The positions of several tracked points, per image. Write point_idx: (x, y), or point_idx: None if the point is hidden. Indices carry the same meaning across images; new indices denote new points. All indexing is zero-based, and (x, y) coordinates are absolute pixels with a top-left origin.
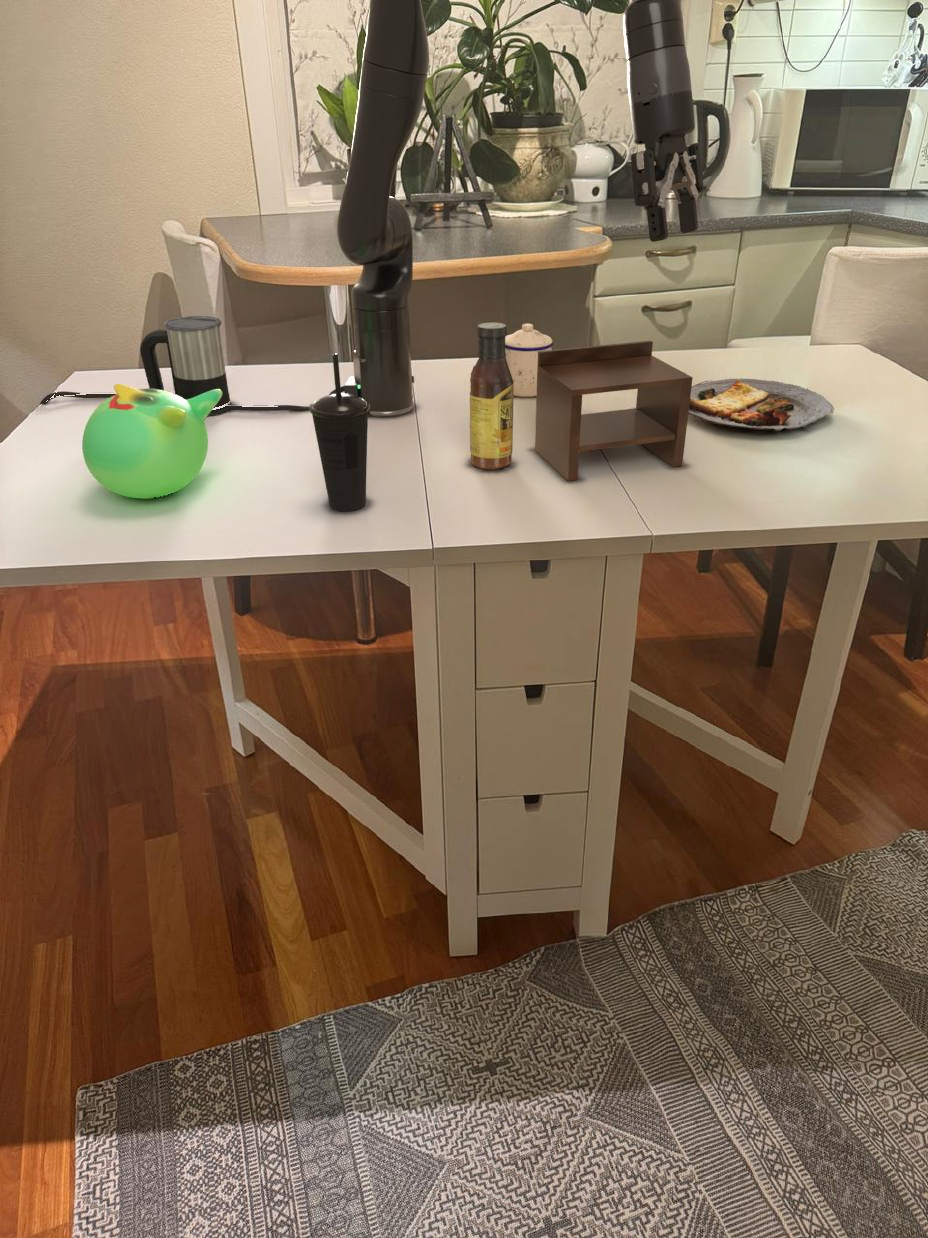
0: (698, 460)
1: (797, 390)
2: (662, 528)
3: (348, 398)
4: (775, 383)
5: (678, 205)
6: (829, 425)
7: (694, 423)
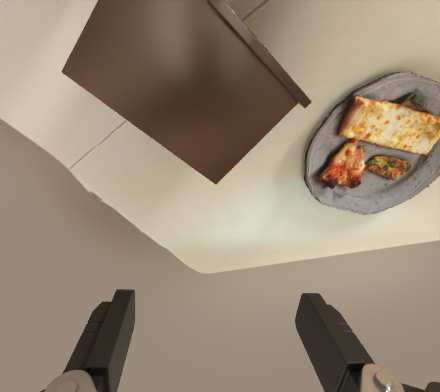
0: None
1: (427, 178)
2: (82, 173)
3: None
4: None
5: (341, 358)
6: None
7: None
